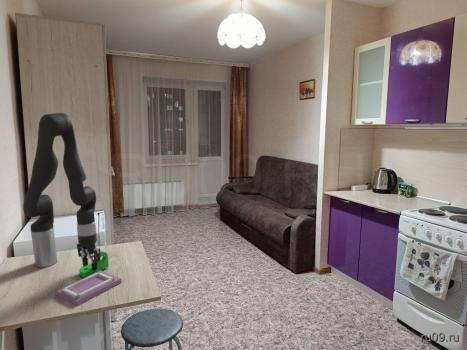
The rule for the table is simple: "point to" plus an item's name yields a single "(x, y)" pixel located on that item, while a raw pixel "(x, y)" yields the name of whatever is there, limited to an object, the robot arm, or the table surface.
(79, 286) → the door panel
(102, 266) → the mechanical part
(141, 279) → the table surface
